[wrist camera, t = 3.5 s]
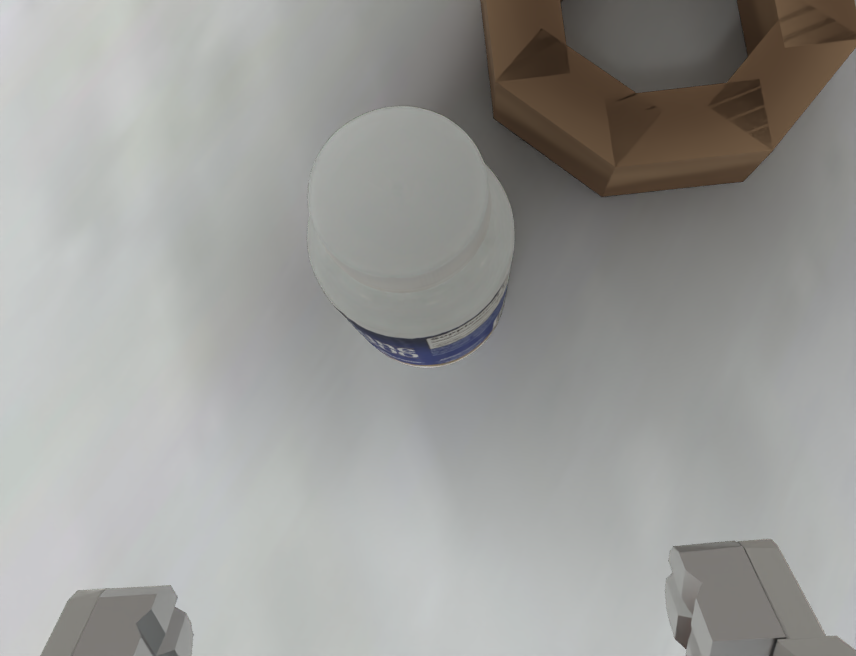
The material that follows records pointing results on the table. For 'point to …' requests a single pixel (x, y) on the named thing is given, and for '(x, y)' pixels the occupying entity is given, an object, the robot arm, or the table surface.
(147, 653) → the robot arm
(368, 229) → the pill bottle
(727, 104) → the walnut ring
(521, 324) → the table surface
